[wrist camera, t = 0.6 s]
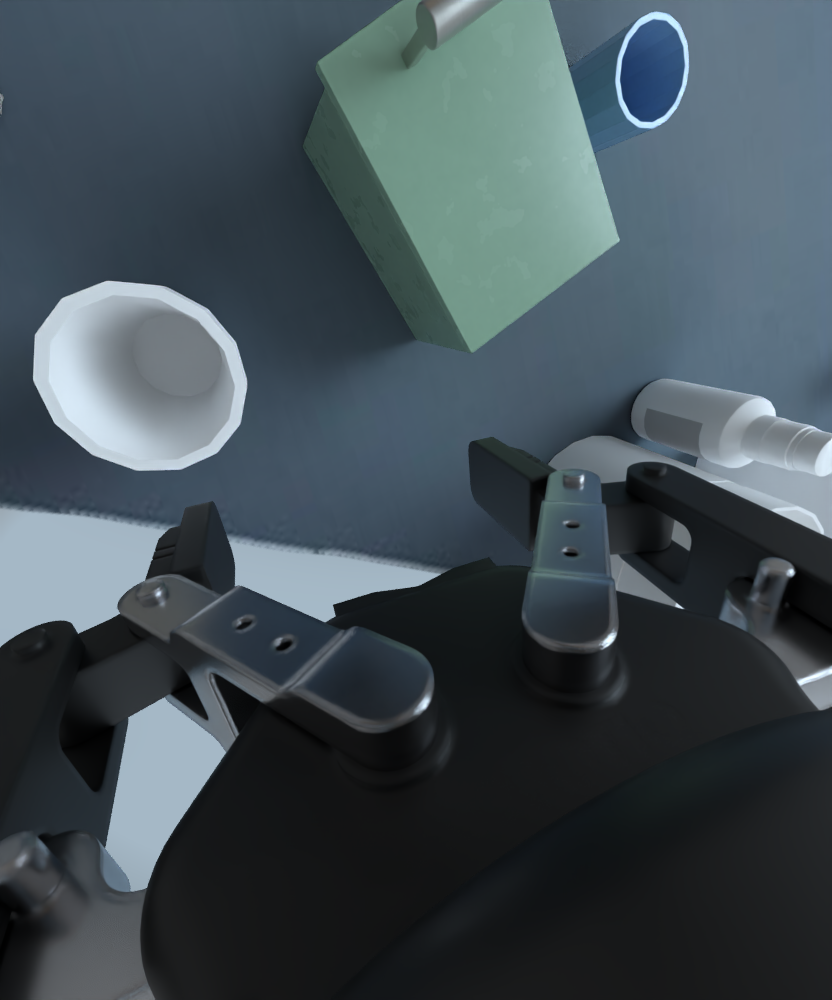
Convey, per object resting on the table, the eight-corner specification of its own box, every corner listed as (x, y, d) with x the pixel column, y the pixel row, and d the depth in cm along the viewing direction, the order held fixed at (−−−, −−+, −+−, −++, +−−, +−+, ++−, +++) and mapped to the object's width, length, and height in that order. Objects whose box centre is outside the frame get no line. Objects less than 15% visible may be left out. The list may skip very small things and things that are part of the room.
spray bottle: (620, 433, 51) (784, 493, 36) (643, 372, 49) (828, 407, 33) (663, 441, 54) (833, 499, 38) (687, 383, 52) (877, 420, 36)
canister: (501, 505, 50) (637, 616, 32) (609, 405, 49) (806, 462, 32) (564, 583, 58) (701, 704, 40) (658, 497, 57) (837, 583, 40)
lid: (314, 68, 22) (331, 11, 18) (514, -77, 23) (580, -170, 18) (466, 352, 31) (504, 362, 26) (611, 242, 31) (673, 232, 27)
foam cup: (82, 296, 31) (-10, 295, 20) (223, 277, 33) (212, 267, 22) (138, 429, 35) (88, 490, 24) (259, 404, 37) (265, 450, 26)
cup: (552, 60, 35) (622, 6, 28) (616, 67, 36) (697, 17, 30) (546, 156, 37) (610, 126, 31) (607, 158, 39) (679, 130, 32)
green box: (302, 146, 32) (324, 87, 23) (444, 41, 32) (520, -56, 23) (416, 340, 40) (466, 352, 31) (529, 254, 40) (611, 242, 31)
